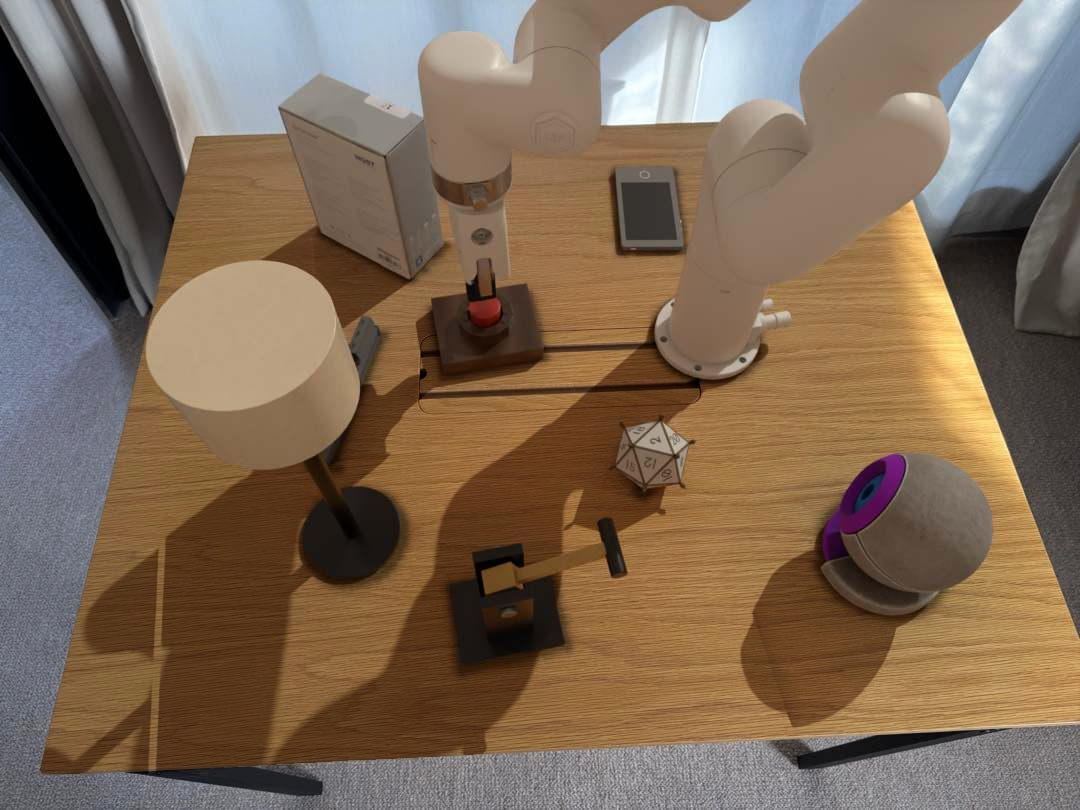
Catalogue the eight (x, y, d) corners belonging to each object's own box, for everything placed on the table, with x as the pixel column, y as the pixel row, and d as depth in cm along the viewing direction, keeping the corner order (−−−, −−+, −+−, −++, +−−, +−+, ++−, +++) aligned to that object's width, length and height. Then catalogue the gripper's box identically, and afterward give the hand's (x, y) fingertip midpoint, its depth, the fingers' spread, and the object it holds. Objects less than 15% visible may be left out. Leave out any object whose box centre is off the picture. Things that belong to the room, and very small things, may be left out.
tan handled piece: (615, 522, 67) (609, 513, 65) (630, 576, 65) (624, 569, 63) (487, 562, 69) (478, 555, 67) (497, 616, 67) (487, 611, 64)
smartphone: (684, 250, 101) (685, 247, 100) (621, 251, 100) (622, 247, 100) (672, 170, 108) (673, 166, 108) (614, 170, 108) (615, 166, 108)
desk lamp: (405, 474, 84) (329, 248, 53) (419, 579, 78) (342, 392, 47) (294, 495, 83) (149, 274, 52) (299, 603, 77) (139, 427, 46)
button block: (527, 294, 97) (526, 273, 93) (543, 358, 92) (543, 338, 88) (432, 309, 96) (428, 288, 92) (444, 375, 91) (440, 356, 87)
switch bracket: (547, 568, 79) (549, 520, 68) (565, 646, 74) (570, 608, 64) (450, 587, 77) (436, 542, 66) (463, 668, 73) (450, 633, 62)
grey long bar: (335, 472, 84) (325, 455, 81) (312, 468, 84) (301, 450, 81) (386, 336, 93) (380, 315, 90) (365, 332, 94) (358, 311, 90)
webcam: (841, 476, 84) (896, 406, 71) (958, 532, 81) (1038, 470, 68) (798, 575, 78) (849, 518, 65) (922, 640, 75) (1002, 594, 62)
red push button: (497, 301, 92) (497, 291, 90) (503, 324, 90) (502, 315, 88) (467, 305, 91) (466, 296, 90) (472, 329, 90) (471, 320, 88)
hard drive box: (446, 244, 101) (428, 118, 84) (411, 282, 98) (384, 159, 81) (354, 198, 105) (319, 69, 88) (317, 233, 102) (274, 106, 85)
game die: (639, 470, 88) (658, 390, 85) (697, 505, 83) (721, 421, 79) (585, 486, 82) (603, 402, 79) (644, 525, 77) (666, 436, 73)
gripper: (526, 222, 68) (526, 342, 84) (496, 113, 76) (501, 242, 92) (442, 234, 67) (458, 353, 83) (421, 122, 75) (439, 251, 91)
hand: (481, 294), depth 87 cm, fingers closed
